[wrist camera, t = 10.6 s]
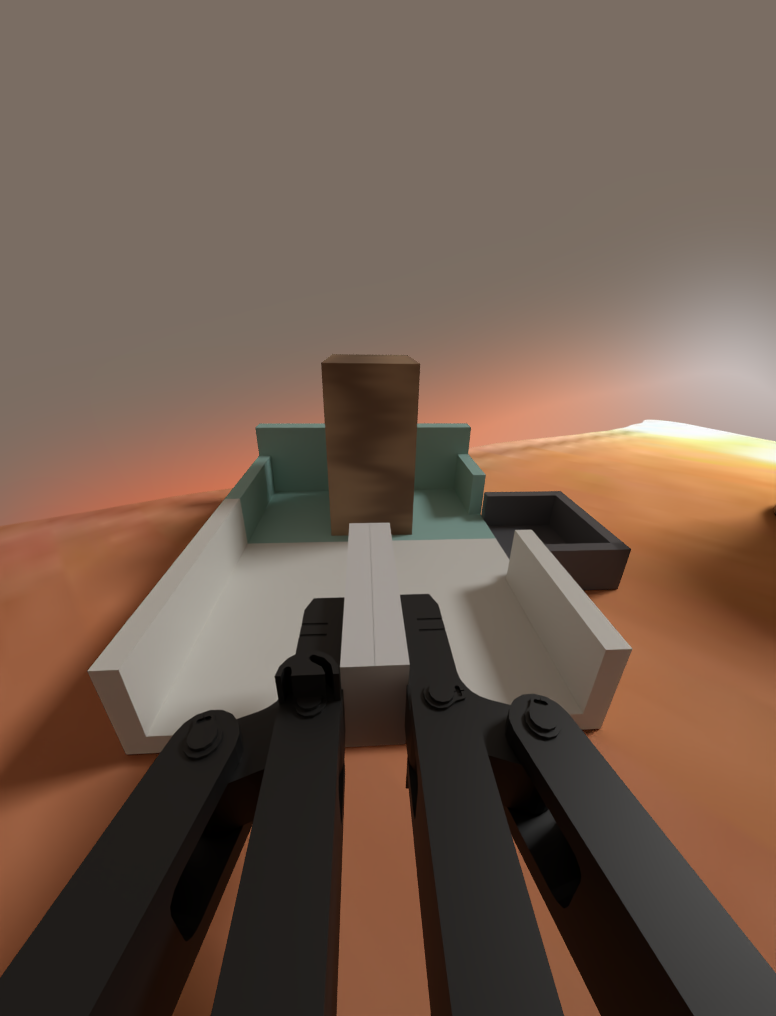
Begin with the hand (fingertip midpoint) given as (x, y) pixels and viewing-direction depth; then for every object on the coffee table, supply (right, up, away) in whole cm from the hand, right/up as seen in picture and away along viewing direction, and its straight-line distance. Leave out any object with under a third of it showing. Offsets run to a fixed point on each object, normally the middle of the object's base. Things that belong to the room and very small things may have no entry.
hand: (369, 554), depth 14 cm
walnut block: (-1, +1, +17) cm, 17 cm away
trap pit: (+12, -2, +14) cm, 18 cm away
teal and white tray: (-1, -2, +11) cm, 12 cm away
